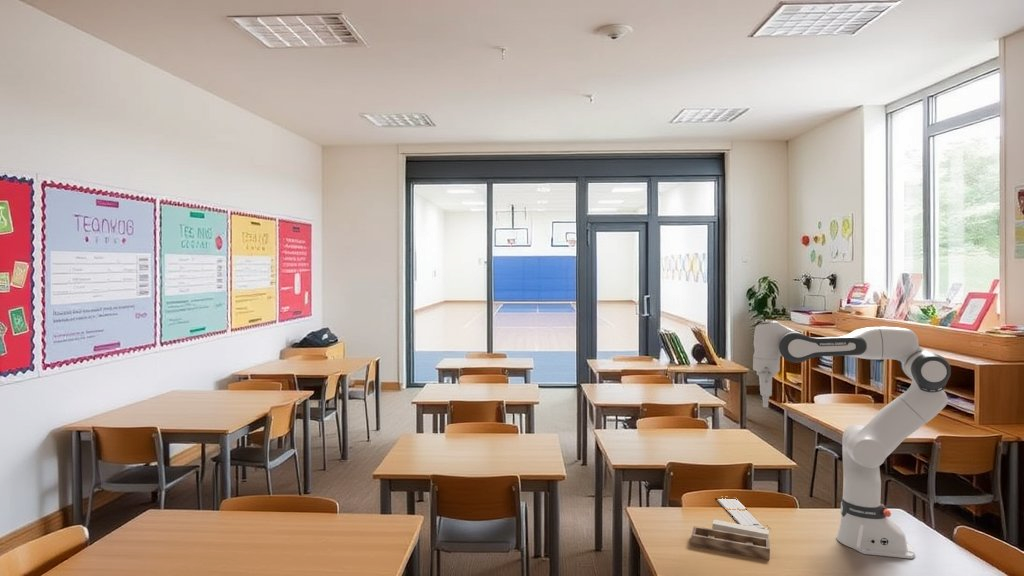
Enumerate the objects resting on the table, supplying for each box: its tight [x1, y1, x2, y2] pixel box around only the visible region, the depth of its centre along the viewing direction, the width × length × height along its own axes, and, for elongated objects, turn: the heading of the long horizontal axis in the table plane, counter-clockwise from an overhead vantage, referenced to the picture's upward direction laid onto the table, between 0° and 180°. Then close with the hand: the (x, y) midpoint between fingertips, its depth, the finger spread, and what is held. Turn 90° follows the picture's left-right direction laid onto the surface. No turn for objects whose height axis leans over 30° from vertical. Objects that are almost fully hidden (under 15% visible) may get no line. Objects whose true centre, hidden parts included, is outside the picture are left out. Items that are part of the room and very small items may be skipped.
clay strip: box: [711, 519, 770, 540], centre depth 204 cm, size 18×4×4 cm, turn 64°
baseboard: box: [716, 498, 770, 530], centre depth 226 cm, size 30×3×10 cm
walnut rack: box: [690, 525, 771, 561], centre depth 196 cm, size 24×8×4 cm, turn 68°
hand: (765, 404), depth 212 cm, fingers open, 8 cm apart
